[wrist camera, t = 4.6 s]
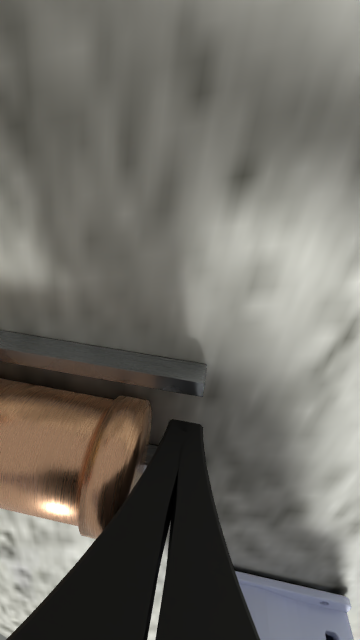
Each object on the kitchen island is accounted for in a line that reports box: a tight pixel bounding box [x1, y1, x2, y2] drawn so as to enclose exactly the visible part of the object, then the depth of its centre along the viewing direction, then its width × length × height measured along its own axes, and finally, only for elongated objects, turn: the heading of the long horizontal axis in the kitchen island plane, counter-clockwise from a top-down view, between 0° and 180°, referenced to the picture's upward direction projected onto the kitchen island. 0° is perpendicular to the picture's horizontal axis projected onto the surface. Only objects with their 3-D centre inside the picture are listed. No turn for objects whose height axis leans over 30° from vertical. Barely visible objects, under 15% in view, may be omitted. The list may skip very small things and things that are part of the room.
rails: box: [0, 330, 207, 472], centre depth 11 cm, size 11×6×1 cm, turn 85°
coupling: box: [0, 378, 152, 539], centre depth 10 cm, size 8×4×4 cm, turn 85°
